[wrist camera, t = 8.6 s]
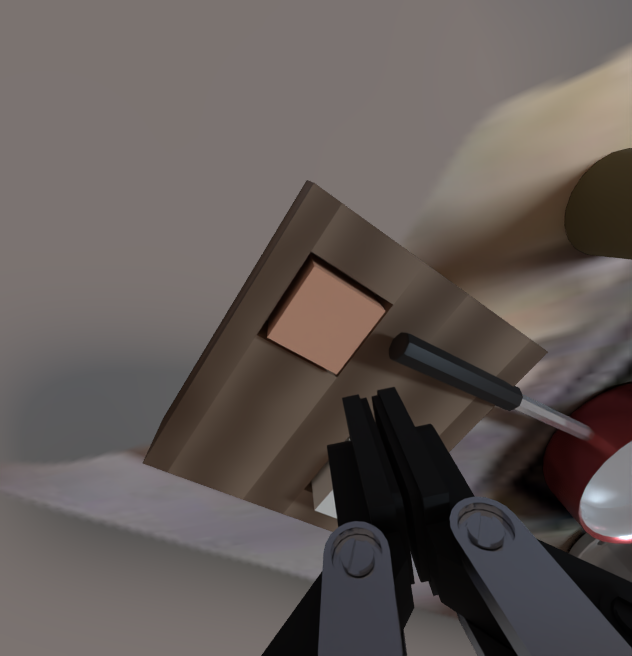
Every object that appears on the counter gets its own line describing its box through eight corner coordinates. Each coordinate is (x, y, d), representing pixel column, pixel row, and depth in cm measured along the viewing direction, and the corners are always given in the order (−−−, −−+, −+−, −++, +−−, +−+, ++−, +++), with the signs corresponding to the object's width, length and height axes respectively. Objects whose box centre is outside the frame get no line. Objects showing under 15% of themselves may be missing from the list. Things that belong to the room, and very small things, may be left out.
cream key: (396, 452, 24) (411, 488, 21) (359, 492, 25) (369, 530, 22) (346, 428, 22) (355, 463, 20) (310, 472, 24) (314, 510, 21)
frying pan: (308, 412, 25) (318, 485, 19) (402, 246, 21) (450, 276, 15) (610, 510, 33) (680, 582, 28) (722, 406, 29) (833, 465, 23)
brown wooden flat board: (506, 323, 23) (548, 351, 20) (349, 494, 29) (360, 541, 25) (306, 179, 18) (314, 182, 15) (163, 418, 24) (142, 463, 20)
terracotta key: (371, 292, 20) (385, 311, 17) (329, 348, 21) (336, 374, 18) (309, 252, 18) (314, 266, 16) (268, 314, 20) (267, 337, 17)
